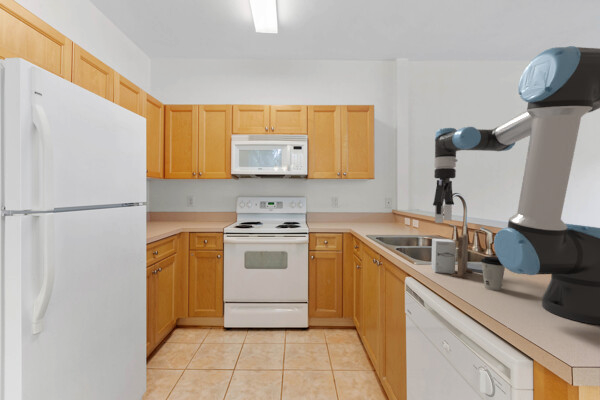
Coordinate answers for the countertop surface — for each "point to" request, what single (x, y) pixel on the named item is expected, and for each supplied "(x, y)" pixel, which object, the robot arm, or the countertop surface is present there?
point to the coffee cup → (492, 273)
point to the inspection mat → (475, 267)
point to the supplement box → (443, 255)
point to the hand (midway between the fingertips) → (443, 221)
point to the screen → (462, 257)
